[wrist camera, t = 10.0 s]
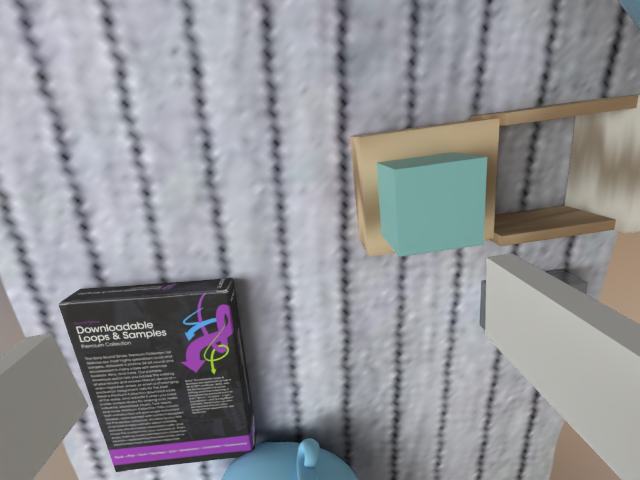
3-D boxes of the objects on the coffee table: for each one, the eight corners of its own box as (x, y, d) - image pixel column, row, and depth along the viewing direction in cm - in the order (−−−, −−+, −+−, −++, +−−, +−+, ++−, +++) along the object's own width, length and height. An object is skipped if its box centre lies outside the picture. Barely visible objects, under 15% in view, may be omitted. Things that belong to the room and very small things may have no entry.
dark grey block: (481, 281, 31) (500, 295, 28) (561, 269, 31) (587, 282, 29) (479, 324, 33) (497, 343, 30) (555, 313, 33) (579, 330, 30)
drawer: (349, 132, 26) (364, 132, 20) (591, 99, 26) (672, 90, 21) (360, 243, 29) (375, 270, 23) (576, 212, 30) (642, 231, 24)
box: (257, 428, 36) (236, 273, 30) (254, 458, 33) (229, 292, 27) (130, 441, 36) (79, 284, 29) (114, 473, 32) (52, 304, 26)
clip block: (376, 162, 23) (394, 169, 19) (452, 152, 23) (487, 156, 19) (381, 235, 25) (399, 256, 20) (451, 225, 25) (483, 244, 21)
